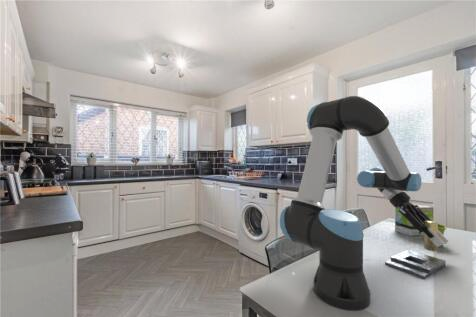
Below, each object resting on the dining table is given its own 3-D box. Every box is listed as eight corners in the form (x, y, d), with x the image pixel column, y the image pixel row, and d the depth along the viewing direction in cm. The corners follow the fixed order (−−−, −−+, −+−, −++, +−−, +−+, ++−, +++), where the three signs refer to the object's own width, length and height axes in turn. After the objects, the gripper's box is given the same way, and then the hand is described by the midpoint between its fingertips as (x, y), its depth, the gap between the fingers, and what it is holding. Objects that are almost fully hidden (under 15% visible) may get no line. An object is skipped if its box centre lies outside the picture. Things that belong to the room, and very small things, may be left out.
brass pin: (435, 251, 88) (435, 223, 88) (422, 248, 91) (422, 221, 91) (439, 249, 90) (439, 222, 90) (427, 246, 93) (427, 220, 94)
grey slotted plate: (429, 275, 76) (429, 270, 76) (390, 262, 86) (390, 256, 86) (445, 266, 83) (445, 260, 83) (408, 254, 93) (408, 249, 93)
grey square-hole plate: (424, 279, 74) (424, 276, 74) (385, 264, 84) (385, 261, 84) (441, 268, 81) (441, 265, 81) (403, 256, 91) (403, 254, 91)
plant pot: (452, 247, 101) (452, 227, 101) (431, 247, 101) (431, 227, 101) (434, 239, 110) (434, 222, 110) (415, 239, 111) (415, 222, 111)
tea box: (412, 236, 115) (412, 208, 115) (394, 230, 124) (394, 204, 125) (434, 234, 119) (434, 206, 119) (414, 228, 128) (414, 203, 129)
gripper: (398, 199, 108) (443, 244, 94) (379, 202, 100) (425, 252, 85) (411, 189, 104) (460, 235, 89) (393, 191, 95) (443, 243, 81)
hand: (443, 244), depth 87 cm, fingers closed on brass pin, 4 cm apart
